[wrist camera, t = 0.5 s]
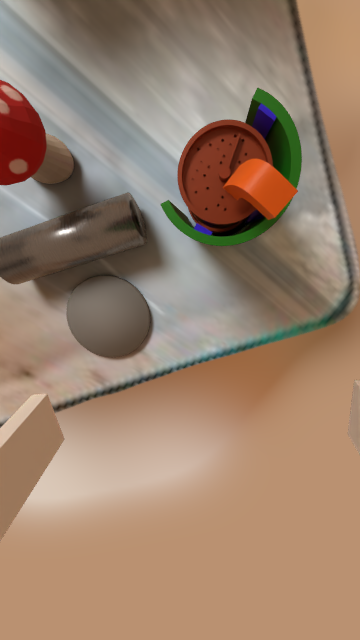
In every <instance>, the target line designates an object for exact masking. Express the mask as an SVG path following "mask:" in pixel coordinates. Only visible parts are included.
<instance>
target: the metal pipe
mask: <svg viewBox="0 0 360 640" xmlns="http://www.w3.org/2000/svg"><path fill="white" fill-rule="evenodd" d="M146 243H147V236H146V228H145V223H144V220H143V217H142V214H141V212H140V209H139V207H138V205H137V203H136V202H135V200H134V198H133V197H132V195H131V194H130V193H125V194H122V195H119V196H116V197H113V198H111V199H108V200H105V201H102V202H99V203H97V204H94V205H91V206H88V207H85V208H82V209H80V210H77V211H74V212H71V213H68V214H66V215H63V216H60V217H57V218H54V219H51V220H49V221H46V222H43V223H40V224H37V225H35V226H32V227H29V228H26V229H23V230H20V231H18V232H15V233H12V234H9V235H6V236H3V237H1V238H0V277H2V278H3V279H4V280H5V281H7V282H9V283H11V284H21V283H24V282H27V281H30V280H33V279H36V278H39V277H43V276H46V275H49V274H52V273H55V272H58V271H62V270H65V269H68V268H71V267H74V266H77V265H81V264H84V263H87V262H90V261H93V260H96V259H100V258H103V257H106V256H109V255H112V254H115V253H119V252H122V251H125V250H128V249H131V248H134V247H138V246H141V245H144V244H146Z"/></svg>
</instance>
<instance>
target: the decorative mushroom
mask: <svg viewBox="0 0 360 640" xmlns="http://www.w3.org/2000/svg"><path fill="white" fill-rule="evenodd" d="M73 169H74V160H73V158H72V156H71V153H70V151H69V149H68V148H67V147H66V146H65V144H64V143H63V142H62V141H60V140H59V139H57V138H56V137H54V136H51V135H49V134H46V133H45V129H44V126H43V124H42V122H41V119H40V117H39V114H38V113H37V112H36V111H35V109H34V108H33V107H32V105H31V104H30V103H29V101H28V100H27V99H26V98H25V96H24V95H23V94H22V93H20V92H19V91H18V90H16V89H15V88H14V87H13V86H11V85H10V84H9V83H7V82H4V81H2V80H0V185H11V184H15V183H19V182H23V181H25V180H27V179H28V178H30V177H32V178H33V179H35V180H37V181H40V182H42V183H49V184H53V183H58V182H62V181H64V180H66V179H68V178H69V177H70V176H71V174H72V173H73Z"/></svg>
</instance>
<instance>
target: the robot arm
mask: <svg viewBox="0 0 360 640" xmlns="http://www.w3.org/2000/svg"><path fill="white" fill-rule="evenodd" d="M348 435H349V437H350V439H351V441H352V442H353V444H354V445H355V448H356V449H357V451H358V452H359V454H360V380H354V386H353V395H352V403H351V411H350V420H349V428H348ZM63 441H64V437H63V434H62V432H61V429H60V426H59V424H58V421H57V418H56V416H55V413H54V410H53V408H52V405H51V402H50V400H49V397H48V395H47V394H35V395H31V397H30V398H29V399H28V400H27V401H26V402H25V403H24V404H23V405H22V406H21V407H20V408H19V409H18V410H17V411H16V412H15V413H14V415H13V416H12V417H11V418H10V419H9V420H8V421H7V422H6V423H5V424H4V425H3V426H2V427H1V428H0V541H1V539H2V537H3V536H4V534H5V533H6V531H7V530H8V528H9V527H10V525H11V523H12V521H13V520H14V518H15V517H16V515H17V514H18V512H19V511H20V509H21V507H22V506H23V504H24V503H25V501H26V500H27V498H28V496H29V495H30V493H31V492H32V490H33V488H34V487H35V485H36V484H37V482H38V480H39V479H40V477H41V476H42V474H43V472H44V471H45V469H46V468H47V466H48V464H49V463H50V461H51V460H52V458H53V456H54V455H55V453H56V452H57V450H58V449H59V447H60V445H61V444H62V442H63Z"/></svg>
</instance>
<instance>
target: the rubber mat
mask: <svg viewBox="0 0 360 640" xmlns="http://www.w3.org/2000/svg"><path fill="white" fill-rule="evenodd" d="M67 321H68V325H69V327H70V330H71V332H72V334H73V335H74V337H75V338H76V340H77V341H78V342H79V343H80V344H81V345H82V346H83V347H85V348H86V349H87V350H89V351H91V352H92V353H95V354H97V355H100V356H104V357H120V356H124V355H127V354H129V353H131V352H132V351H134V350H135V349H137V348H138V347H139V346H140V344H141V343H142V342H143V340H144V339H145V337H146V335H147V333H148V330H149V326H150V312H149V308H148V305H147V303H146V300H145V299H144V297H143V295H142V294H141V293H140V291H139V290H138V289H137V288H136V287H135V286H133V285H132V284H131V283H129V282H128V281H126V280H124V279H122V278H119V277H116V276H110V275H101V276H96V277H92V278H90V279H87V280H85V281H84V282H82V283H81V284H79V285H78V286H77V287H76V288H75V289H74V291H73V292H72V294H71V296H70V298H69V301H68V304H67Z"/></svg>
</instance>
